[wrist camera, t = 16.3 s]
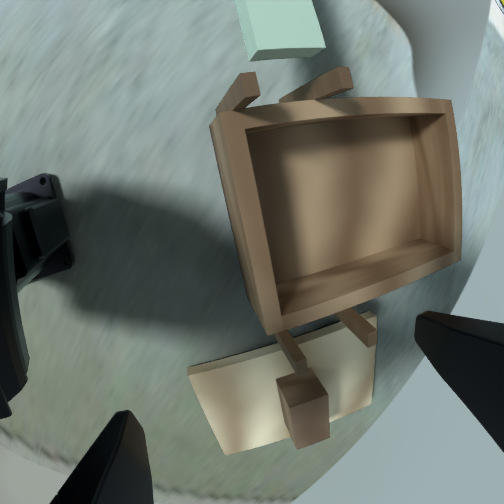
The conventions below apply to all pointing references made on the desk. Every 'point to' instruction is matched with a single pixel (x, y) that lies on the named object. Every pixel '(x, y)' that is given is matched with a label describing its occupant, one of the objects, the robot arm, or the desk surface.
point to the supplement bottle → (501, 4)
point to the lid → (286, 389)
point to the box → (335, 199)
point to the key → (279, 29)
